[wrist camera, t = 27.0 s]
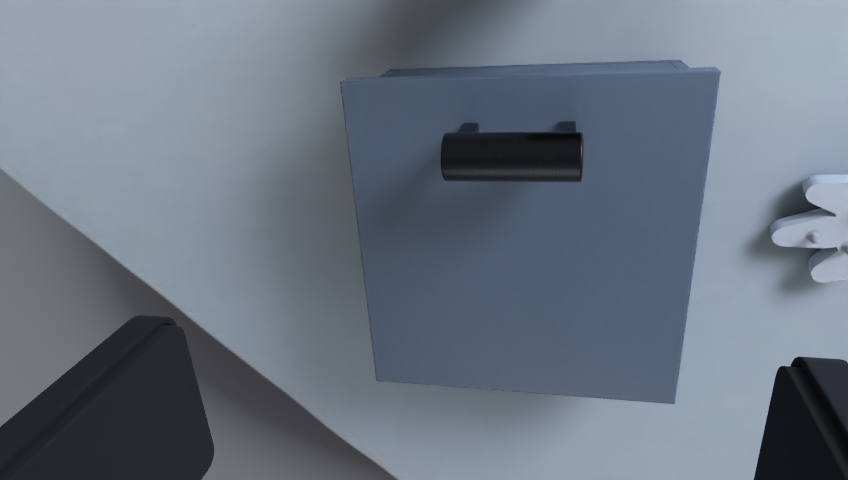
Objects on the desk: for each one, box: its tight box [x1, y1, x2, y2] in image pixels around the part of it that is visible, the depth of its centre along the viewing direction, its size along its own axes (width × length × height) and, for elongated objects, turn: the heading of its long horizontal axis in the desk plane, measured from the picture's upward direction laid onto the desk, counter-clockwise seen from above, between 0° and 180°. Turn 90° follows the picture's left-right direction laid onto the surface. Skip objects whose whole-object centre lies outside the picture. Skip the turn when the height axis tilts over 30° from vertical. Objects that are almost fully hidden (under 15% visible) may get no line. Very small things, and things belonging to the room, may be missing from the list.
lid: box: [340, 67, 721, 404], centre depth 26 cm, size 16×15×5 cm
